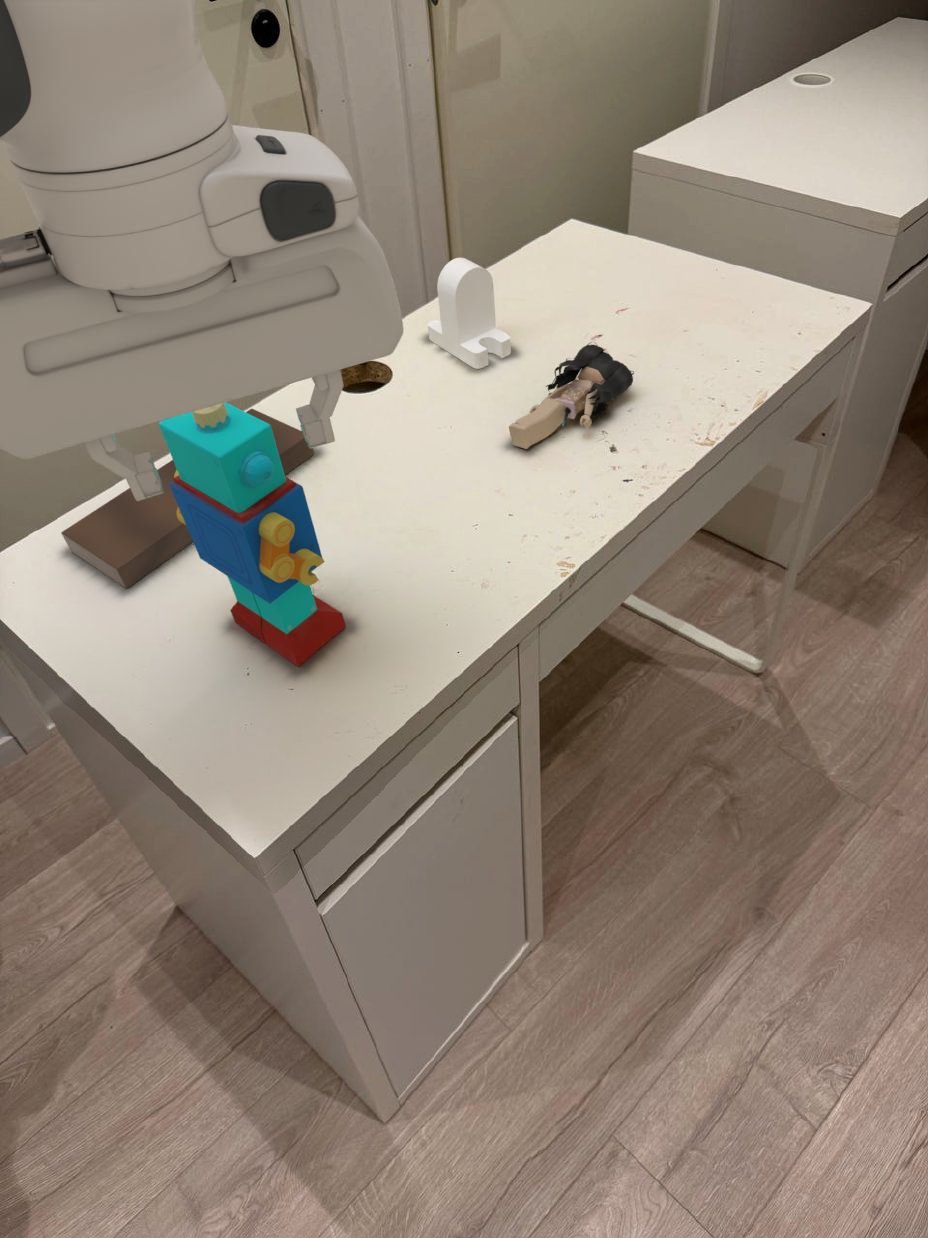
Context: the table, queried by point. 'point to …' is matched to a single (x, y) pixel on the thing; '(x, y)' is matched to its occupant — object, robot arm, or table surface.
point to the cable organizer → (467, 314)
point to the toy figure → (574, 395)
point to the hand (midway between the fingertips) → (236, 465)
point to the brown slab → (155, 519)
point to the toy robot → (251, 526)
